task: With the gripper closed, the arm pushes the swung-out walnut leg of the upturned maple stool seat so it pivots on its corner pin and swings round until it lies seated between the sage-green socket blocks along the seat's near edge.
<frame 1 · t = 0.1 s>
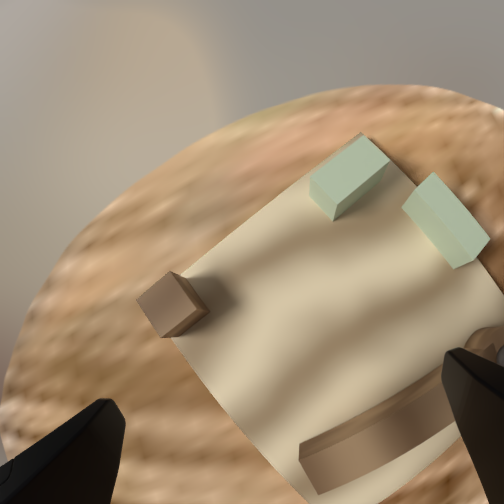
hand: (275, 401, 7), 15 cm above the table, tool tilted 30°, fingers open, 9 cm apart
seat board: (362, 337, 21), on the table
hinged leg: (425, 409, 16), point 3 cm above the table, hinge at 78.0°
socket blocks: (400, 215, 20), point 3 cm above the table
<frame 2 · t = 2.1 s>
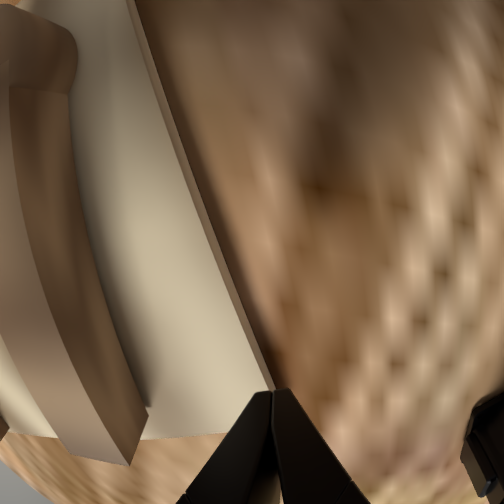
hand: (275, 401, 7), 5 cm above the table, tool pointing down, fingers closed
hinged leg: (26, 258, 8), point 3 cm above the table, hinge at 78.0°
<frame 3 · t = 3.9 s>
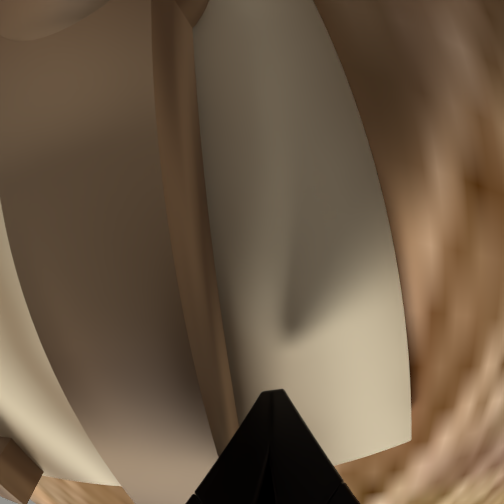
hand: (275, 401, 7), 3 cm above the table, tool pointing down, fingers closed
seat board: (30, 283, 10), on the table
hinged leg: (119, 274, 6), point 3 cm above the table, hinge at 75.4°, touching gripper
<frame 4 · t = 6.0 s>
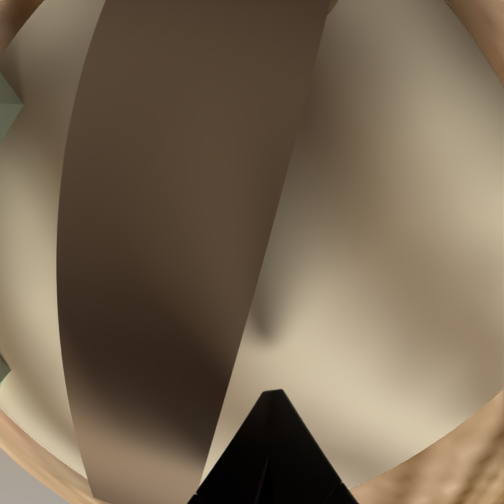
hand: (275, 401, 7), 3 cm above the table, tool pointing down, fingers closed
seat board: (201, 321, 10), on the table
hinged leg: (167, 246, 5), point 3 cm above the table, hinge at 34.7°, touching gripper
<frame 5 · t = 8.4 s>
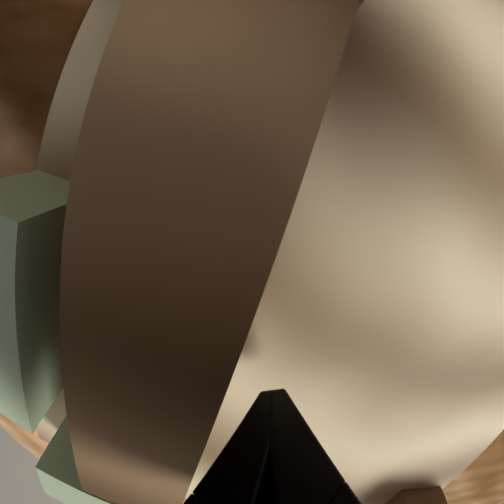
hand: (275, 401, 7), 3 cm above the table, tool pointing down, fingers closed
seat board: (372, 312, 9), on the table
hinged leg: (175, 241, 5), point 3 cm above the table, hinge at 3.2°, touching gripper
socket blocks: (92, 406, 7), point 3 cm above the table
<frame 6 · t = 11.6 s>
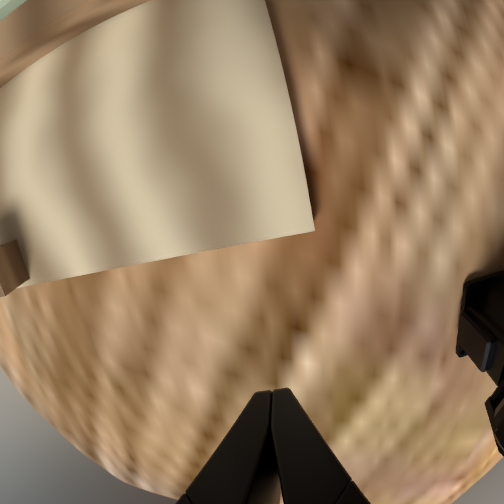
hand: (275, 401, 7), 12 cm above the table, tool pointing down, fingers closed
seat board: (88, 100, 16), on the table
hinged leg: (69, 3, 11), point 3 cm above the table, hinge at 3.0°
socket blocks: (5, 34, 12), point 3 cm above the table
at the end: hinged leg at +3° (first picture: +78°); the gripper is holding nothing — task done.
